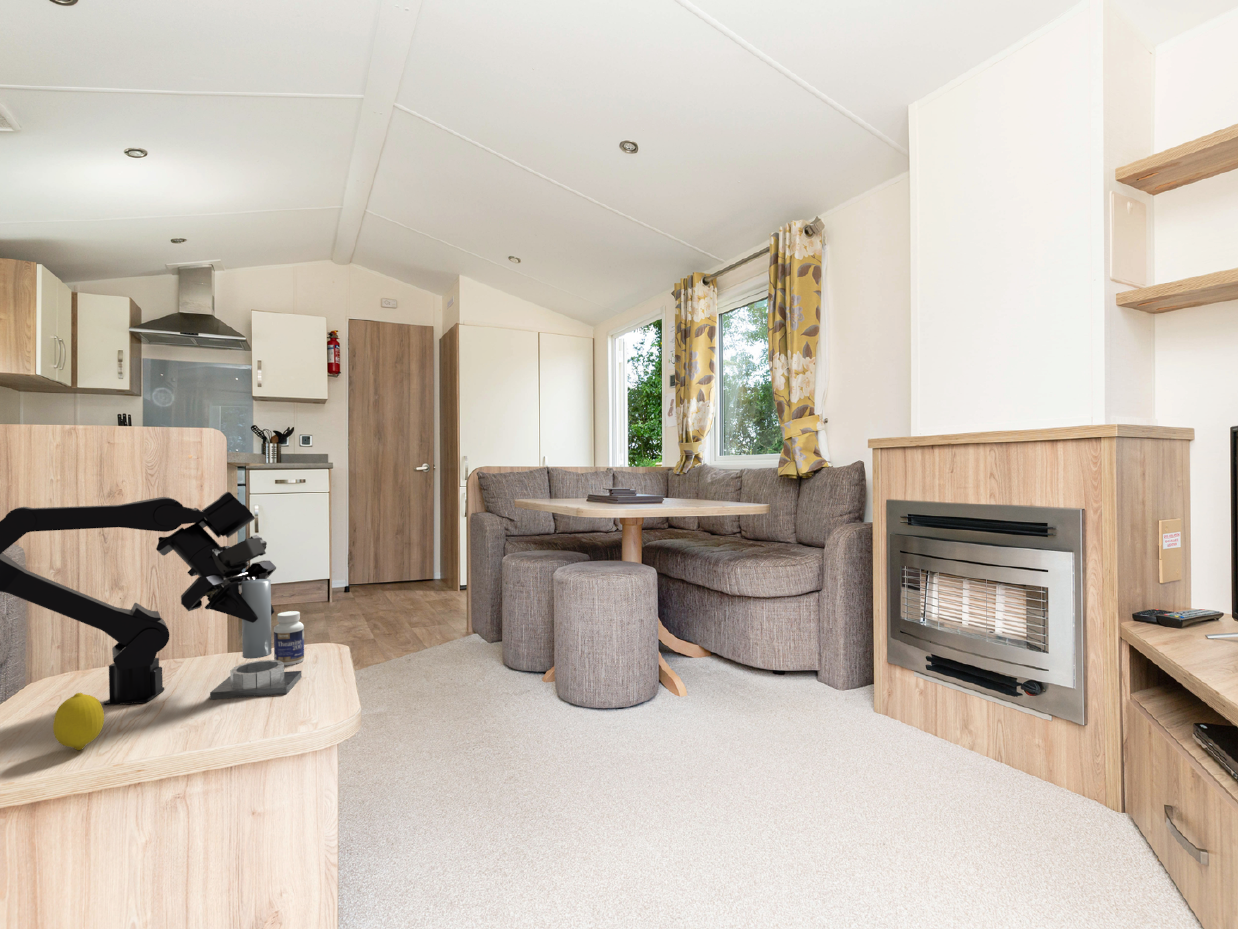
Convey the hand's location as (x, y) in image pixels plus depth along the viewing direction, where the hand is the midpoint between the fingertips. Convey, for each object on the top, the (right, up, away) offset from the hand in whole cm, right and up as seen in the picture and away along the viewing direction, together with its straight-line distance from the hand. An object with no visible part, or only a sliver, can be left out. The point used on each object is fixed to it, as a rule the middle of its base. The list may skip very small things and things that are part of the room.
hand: (264, 617), depth 118 cm
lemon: (-13, -13, -24) cm, 31 cm away
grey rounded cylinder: (-1, -7, 0) cm, 7 cm away
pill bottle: (-3, -13, +15) cm, 20 cm away
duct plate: (-1, -12, 0) cm, 13 cm away
